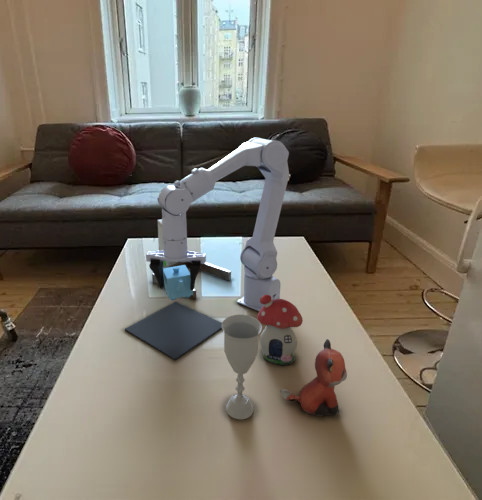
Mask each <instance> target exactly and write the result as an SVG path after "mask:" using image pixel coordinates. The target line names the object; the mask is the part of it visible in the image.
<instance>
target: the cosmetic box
mask: <svg viewBox="0 0 482 500" xmlns="http://www.w3.org/2000/svg"><path fill="white" fill-rule="evenodd" d="M157 238H158V239H157V242H158V243H157V244H158V251H164V245H163V227H162V218H161V219H157ZM175 263H178V262H170V261H163V268H166V267H169V266H171V265H173V264H175Z"/></svg>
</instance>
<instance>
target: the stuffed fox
mask: <svg viewBox="0 0 482 500" xmlns="http://www.w3.org/2000/svg"><path fill="white" fill-rule="evenodd" d="M331 345H332V344H331V341H330V339H328V338H326V339H325V341H324V343H323V349H322V350H320V351H319V352H317V354H316V357H315V360H314V369H315V372H316V376H315V377H314V378H313V379H312V380H310V381H309V382H308V383H307V384H305V385H304V386H303V387H302V388H301V389H300V391H299V393H298V395H296V394H295V393H293V392H291V391H290V390H287V389H285V388H281V389H279V392H280V394H281V396H282V398H283V399H284V400H285V401H287V402H288V401H290V402H299V404H300V405H301V409H302V411H303V412H306V413H307V414H309V415H313V416H315V417H324V416H329V415H330V416H336V415H338V414H339V412H340V410H339V402H338V397H337V394H336V392H335V387H337V386H338V385H339V384H341V383H342V382H344V381H346V380H347V377H348V372H347V369H346V362H345V359H344V356H343V354H342V353H341V352H340V351H338V350H337V349H335V348H332V346H331Z"/></svg>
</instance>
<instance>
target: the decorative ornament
mask: <svg viewBox="0 0 482 500" xmlns="http://www.w3.org/2000/svg"><path fill="white" fill-rule="evenodd" d="M260 303H261V304H264V306H263V307H262V308H261V310H260V311H258V313H257V315H256V319H257V320H259V322H260V323H261V325H262V326H265V327H264V329H262V331H261V333H260V337H259V339H260V340H259V344H260V348H261V352H262V356H263V359H265V360H266V361H267V362H268V363H271V364H273V365H279V366H286V365H291V364H292V363H293V362H294V361H295V359H296V356H295V352H296V350H297V346H298V337H297V335H296V333H295V332H294V330H293V329H292V328H298V327H299V328H300V327H301V326H302V324H303V321H304V320H303V316H302V314H301V313H300V311H299V309H298V308H297V306H296V305H295V304H293V303H292V302H290V301H289V300H286V299H283V298H280V299H275V300H271V296H270V295H263V296H262V297H261V298H260Z"/></svg>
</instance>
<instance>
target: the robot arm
mask: <svg viewBox="0 0 482 500" xmlns="http://www.w3.org/2000/svg"><path fill="white" fill-rule="evenodd" d="M289 155H290V152H289V150H288V149H287V147H286V146H285V145H284V143H283V142H281V141H279V140H271V139H266V138H261V137H257V136H256V137H253V138H252V137H251V138H250V139H249V140H248V141H246V142H245V141H244V142H243V143H241V145H239V146H238V148H236V149H235V150H233V151H232V152H231V153H229V154H228V155H226V156H225V157H223V158H222V159H221V160H219V161H218V162H217V163H215V164H213V165H212V166H211V167H209V168H208V169H206V168H204V167H200V168H196V167H195V168H193V169H191V171H190V172H191V173H190V174H188V175H187V176H185V177H184V178H182V179H181V180H175V181H173V184H174V185H166V186H164V187H163V188H162V189H161V190H160V192H159V194H158V197H157V203H158V205H159V206H160V207H161V219H162V227H163V245H164V251H159V250H156V251H155V250H154V251H152V250H151V251H150V250H149V251H147V252H146V253H145V260H146V261H145V262H148V263H149V269H150V270H151V272H152V274H153V273H154V275H155V277H156V279H157V281H158V284H159V285H158V284H157V285H158V287H159V289H160V290H162V289H163V288H164V287H163V286H164V276H163V268H164V266H163V261H170V262H191V265H190V267H189V268H188V270H189V272H190V277H191V283H190V289H191V290H194V289H195V287H196V279H197V276H198V273H199V271H200V270H199V269H200V267H201V264H205V262H206V263H207V253H203V252H196V251H192V250H191V251H190V250H188V228H187V227H188V226H187V225H188V223H187V212H188V210H189V208H190V205H191V204H192V203H194V202H196V201H197V200H198V199H200V198H202V197H204V196H205V195H206V194H208V193H210V192H211V191H213V190H214V189H215V185H216V183H217V182H218V181H219V180H221V179H223V178H225V177H227V176H229V175H231V174H232V173H234V172H236V171H238V170H239V169H241V168H243V167H246V166H247V167H256V168H257V169H258V170H259V171H260V173H261V174H262V176H263V177H264V183H263V187H262V188H263V189H262V193H261V198H260V203H259V206H258V211H257V215H256V219H255V225H254V229H253V234H252V236H251V237H250V238H249V239H247V240H246V243H245V246H244V248H243V249H242V250H241V253H240V256H239V257H240V258H239V259H240V262H241V264H242V265H243V271H244V272H243V273H244V274H243V296H242V297H241V298H240V299H238V300H237V301H236V302H237V304H240V305H242V306H244V307H247V308H250V309H252V310H255V311H257V312H259V311H260V310H261V308H262V307H263V306H264V304H261V303H260V298H261V297H262V296H263V295H270V296H271V300H275V299H281V298H280V297H281V280H280V279H279V278H277V277H275V276H274V274H275V273H276V271H277V269H278V261H277V256H278V251H277V248H276V245H275V243H274V240H275V235H276V231H277V227H278V223H279V218H280V215H281V211H282V207H283V202H284V198H285V195H286V190H287V186H288V182H289V177H290V171H289V170H290V169H289V164H288V159H289Z"/></svg>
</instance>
